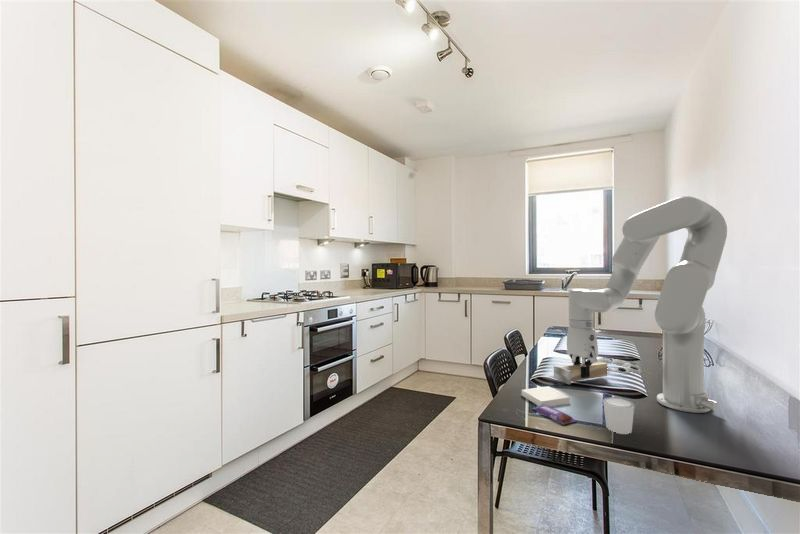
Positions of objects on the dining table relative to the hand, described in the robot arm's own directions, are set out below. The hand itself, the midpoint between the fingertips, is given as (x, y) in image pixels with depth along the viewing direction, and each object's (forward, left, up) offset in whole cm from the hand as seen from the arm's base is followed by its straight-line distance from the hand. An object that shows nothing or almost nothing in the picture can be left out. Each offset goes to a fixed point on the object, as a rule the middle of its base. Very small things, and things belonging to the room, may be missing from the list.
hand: (581, 375), depth 128 cm
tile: (-9, +17, -1) cm, 19 cm away
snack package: (-19, +28, -3) cm, 34 cm away
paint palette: (+9, -24, -3) cm, 26 cm away
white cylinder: (-31, +18, -2) cm, 36 cm away
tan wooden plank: (0, -1, -1) cm, 1 cm away
